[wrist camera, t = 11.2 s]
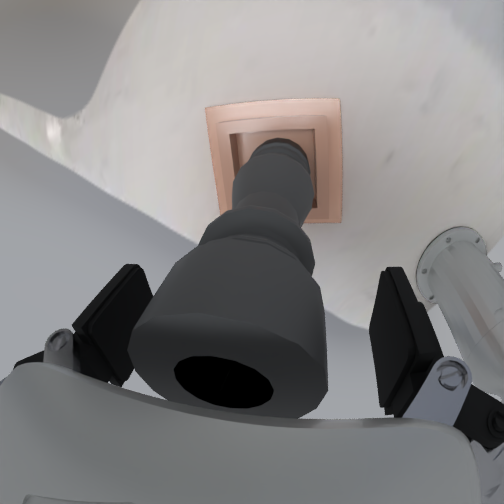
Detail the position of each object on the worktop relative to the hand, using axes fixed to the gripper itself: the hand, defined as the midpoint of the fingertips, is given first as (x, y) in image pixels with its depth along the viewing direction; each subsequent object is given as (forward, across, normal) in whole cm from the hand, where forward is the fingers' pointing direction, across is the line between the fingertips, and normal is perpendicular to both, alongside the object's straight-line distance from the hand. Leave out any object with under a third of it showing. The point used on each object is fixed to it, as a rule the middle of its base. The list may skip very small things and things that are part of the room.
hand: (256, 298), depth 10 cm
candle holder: (+21, +1, 0) cm, 21 cm away
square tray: (+22, +1, -1) cm, 22 cm away
